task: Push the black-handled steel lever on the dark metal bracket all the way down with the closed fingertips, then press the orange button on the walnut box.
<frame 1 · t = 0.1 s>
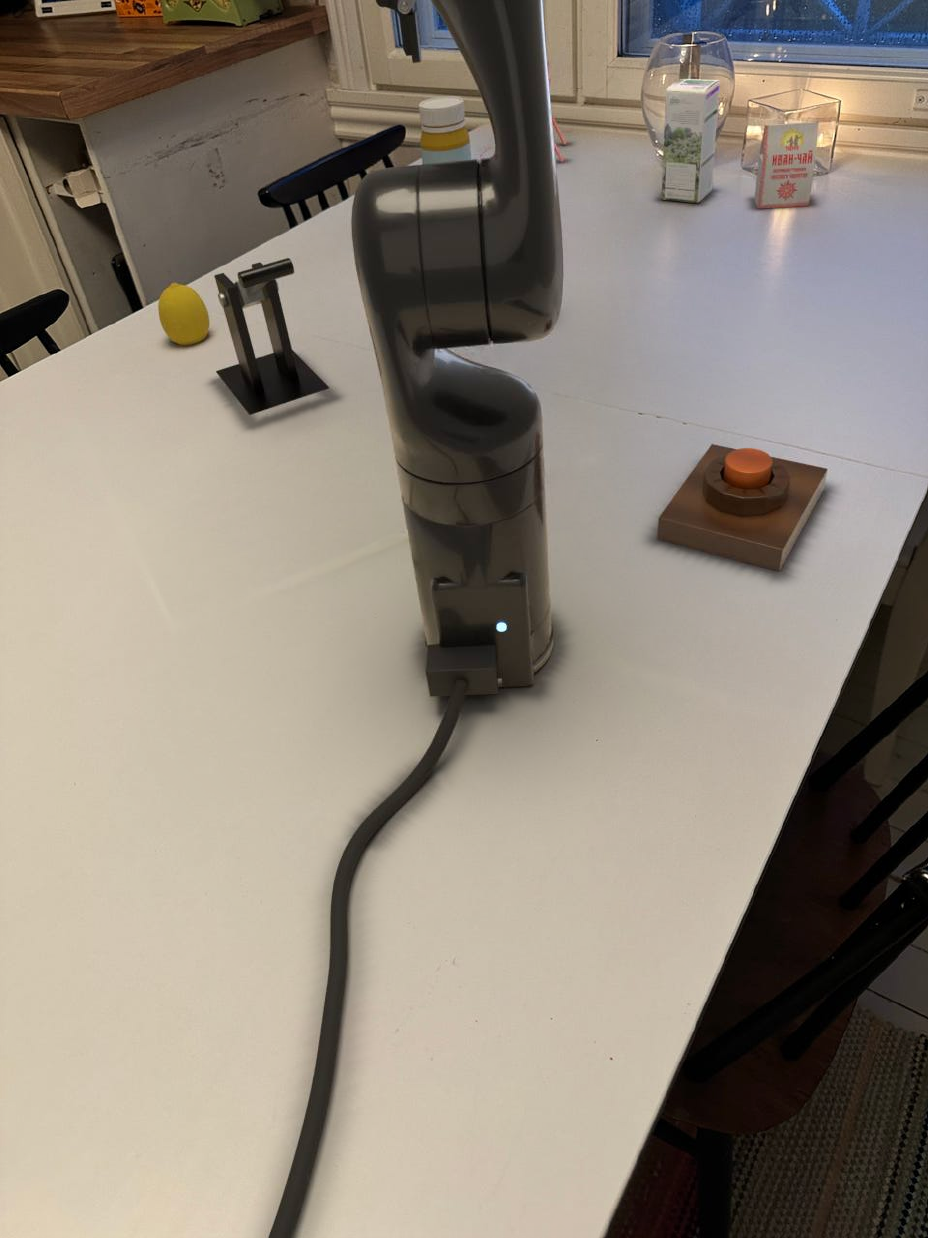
hand: (465, 55, 82), 29 cm above the table, tool pointing down, fingers open, 8 cm apart
figurine: (523, 156, 155), on the table
button box: (741, 514, 77), on the table
syrup box: (686, 197, 134), on the table
tea box: (780, 203, 128), on the table
bracket: (273, 389, 102), on the table
bottle: (452, 215, 137), on the table
lemon: (194, 349, 112), on the table
lever: (256, 283, 90), point 13 cm above the table, hinge at 28.0°
button: (747, 469, 74), point 4 cm above the table, slide at 0.1 cm
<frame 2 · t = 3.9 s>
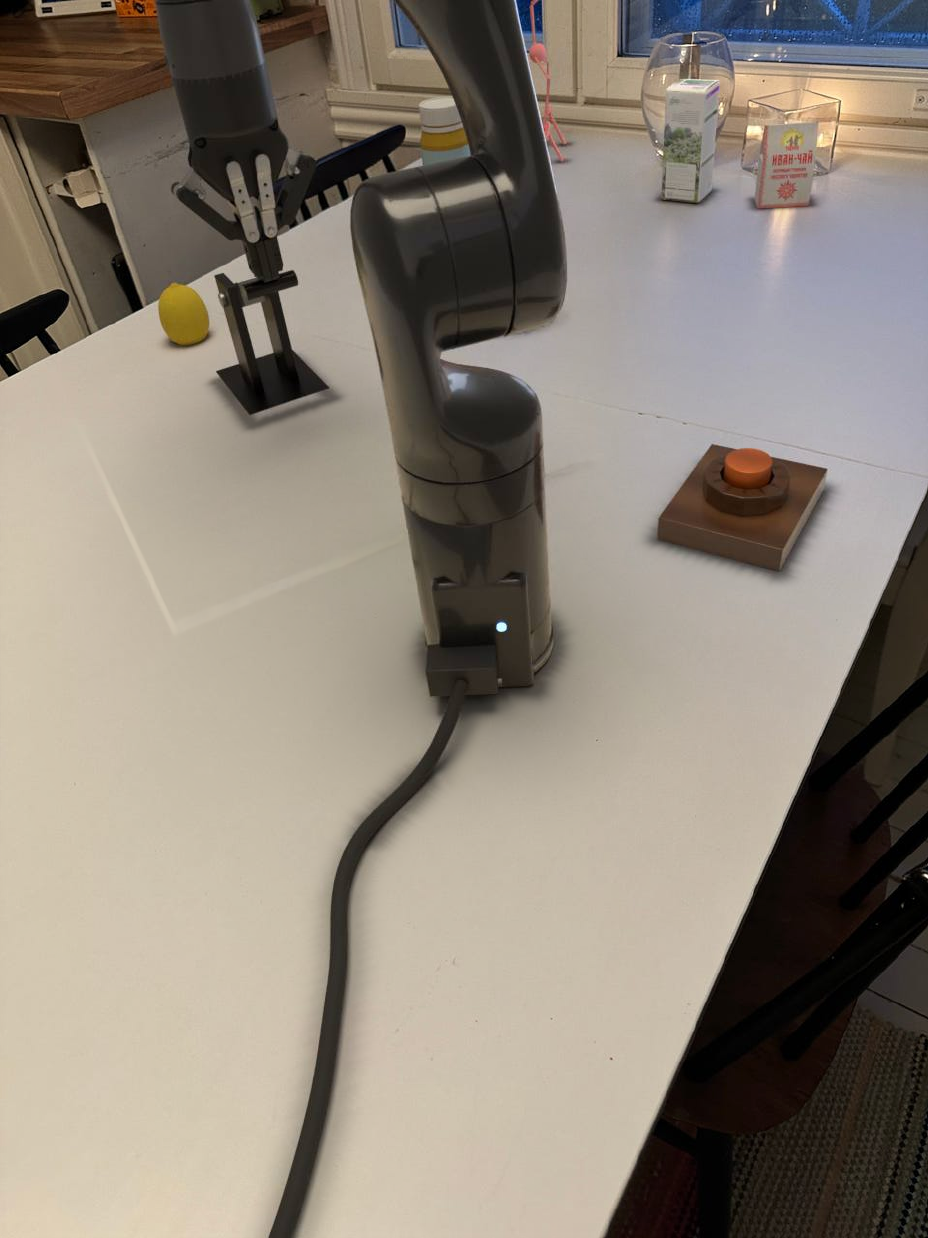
hand: (269, 277, 85), 15 cm above the table, tool pointing down, fingers closed
lever: (258, 289, 90), point 13 cm above the table, hinge at 21.8°
everything else where it was.
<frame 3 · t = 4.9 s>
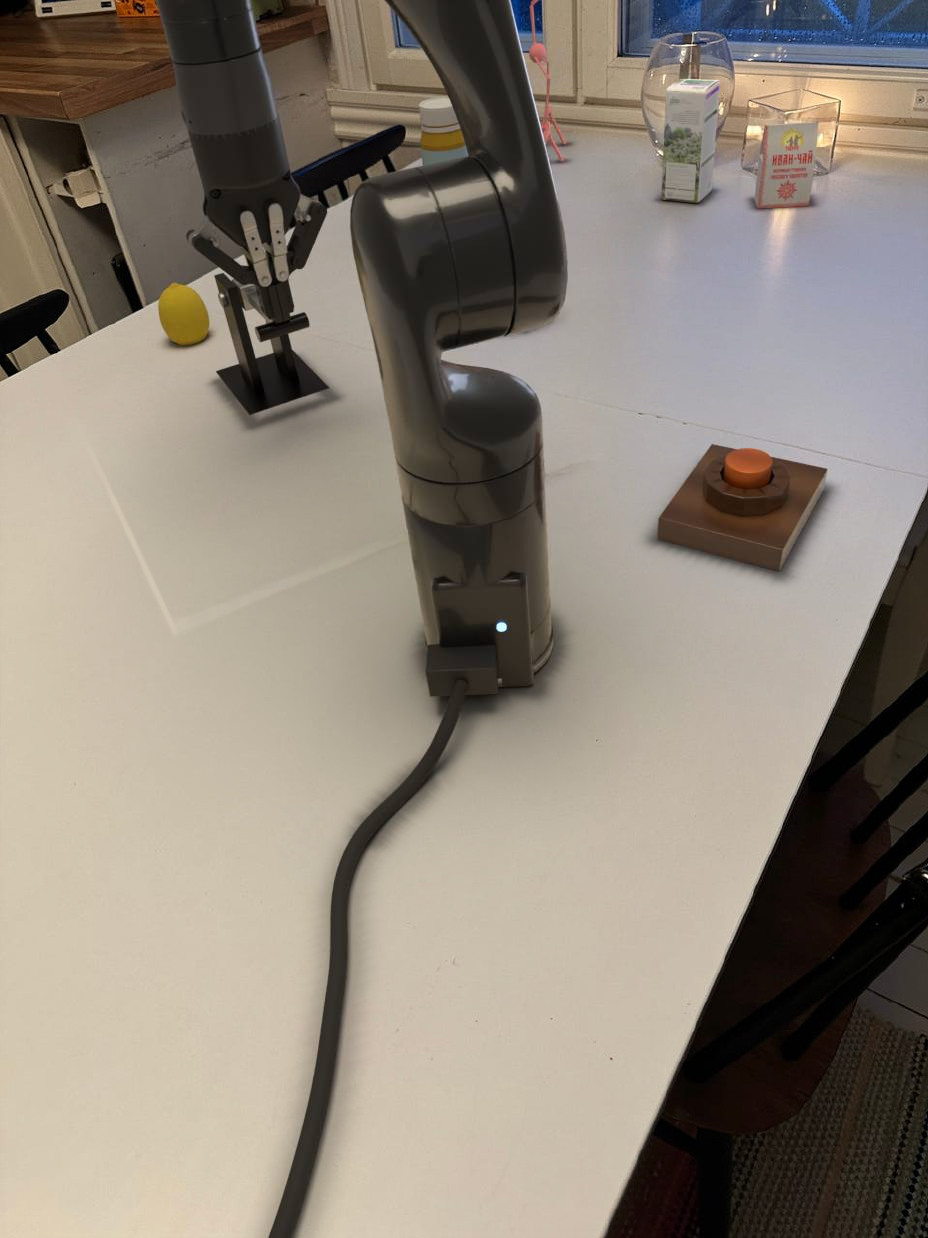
hand: (280, 318, 87), 12 cm above the table, tool pointing down, fingers closed
lever: (263, 307, 91), point 11 cm above the table, hinge at -0.8°, touching gripper
everything else where it was.
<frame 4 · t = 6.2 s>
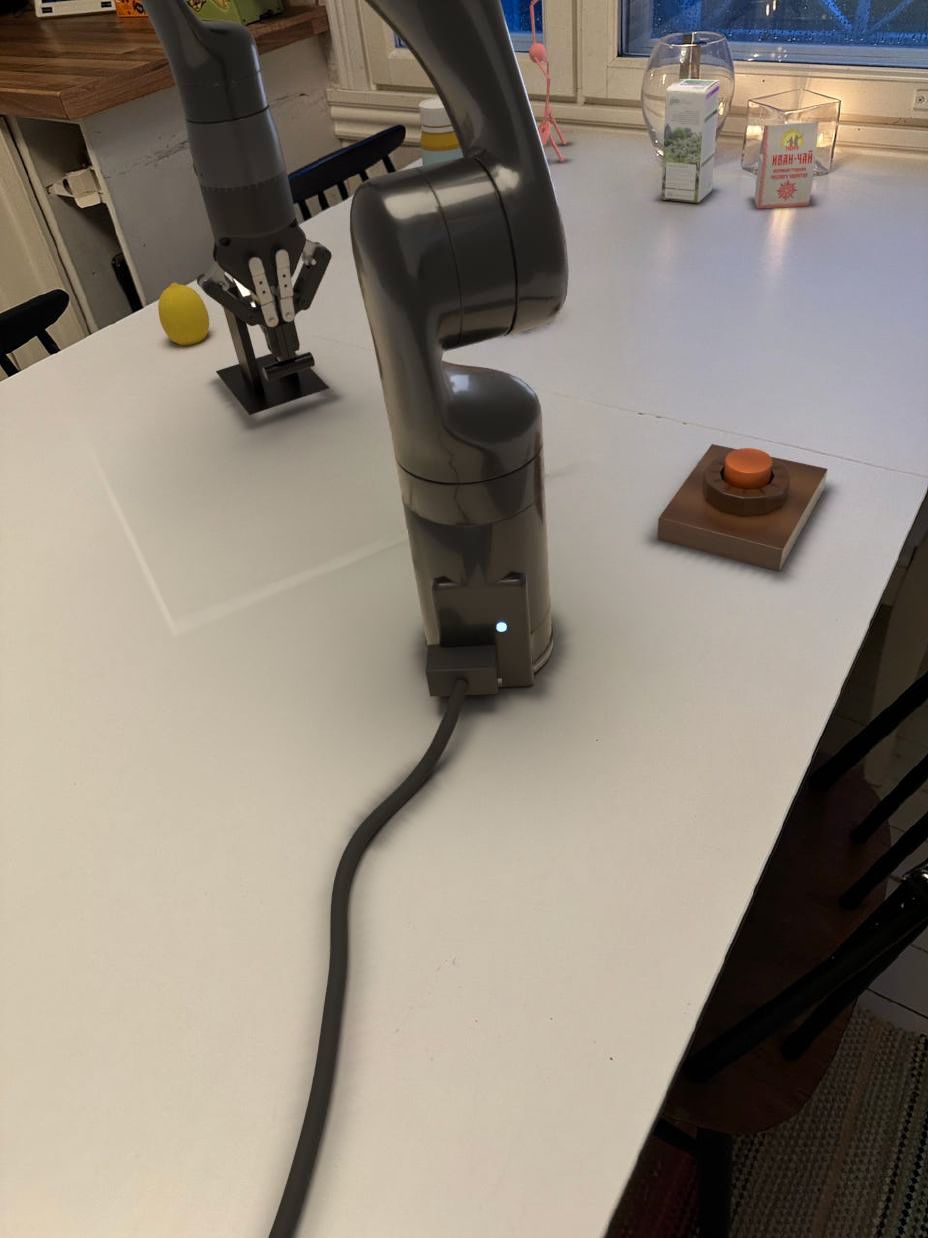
hand: (286, 356, 91), 7 cm above the table, tool pointing down, fingers closed
lever: (267, 326, 93), point 9 cm above the table, hinge at -27.6°, touching gripper
everything else where it was.
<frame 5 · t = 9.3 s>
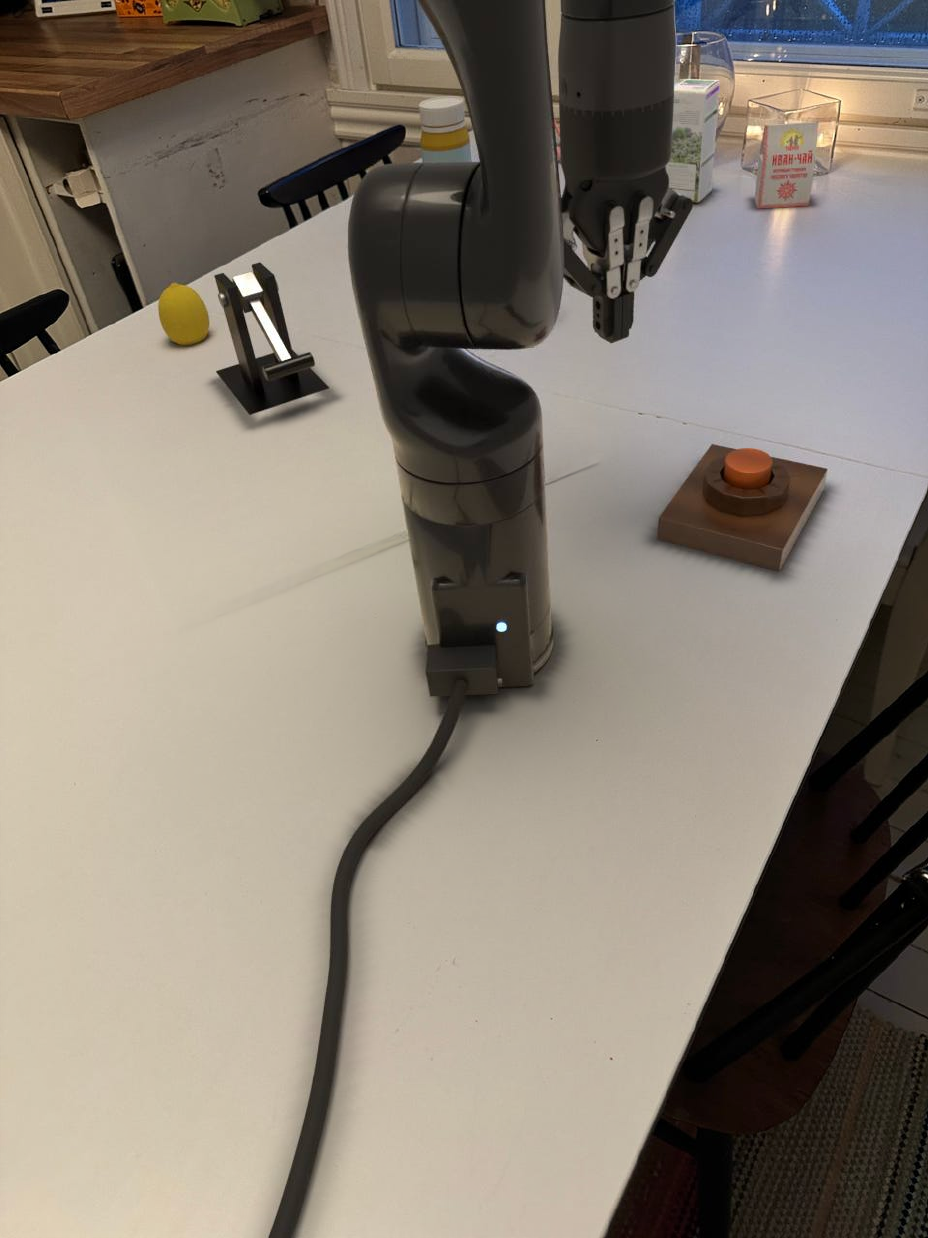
hand: (613, 336, 72), 14 cm above the table, tool pointing down, fingers closed
lever: (267, 326, 93), point 9 cm above the table, hinge at -27.7°
everything else where it was.
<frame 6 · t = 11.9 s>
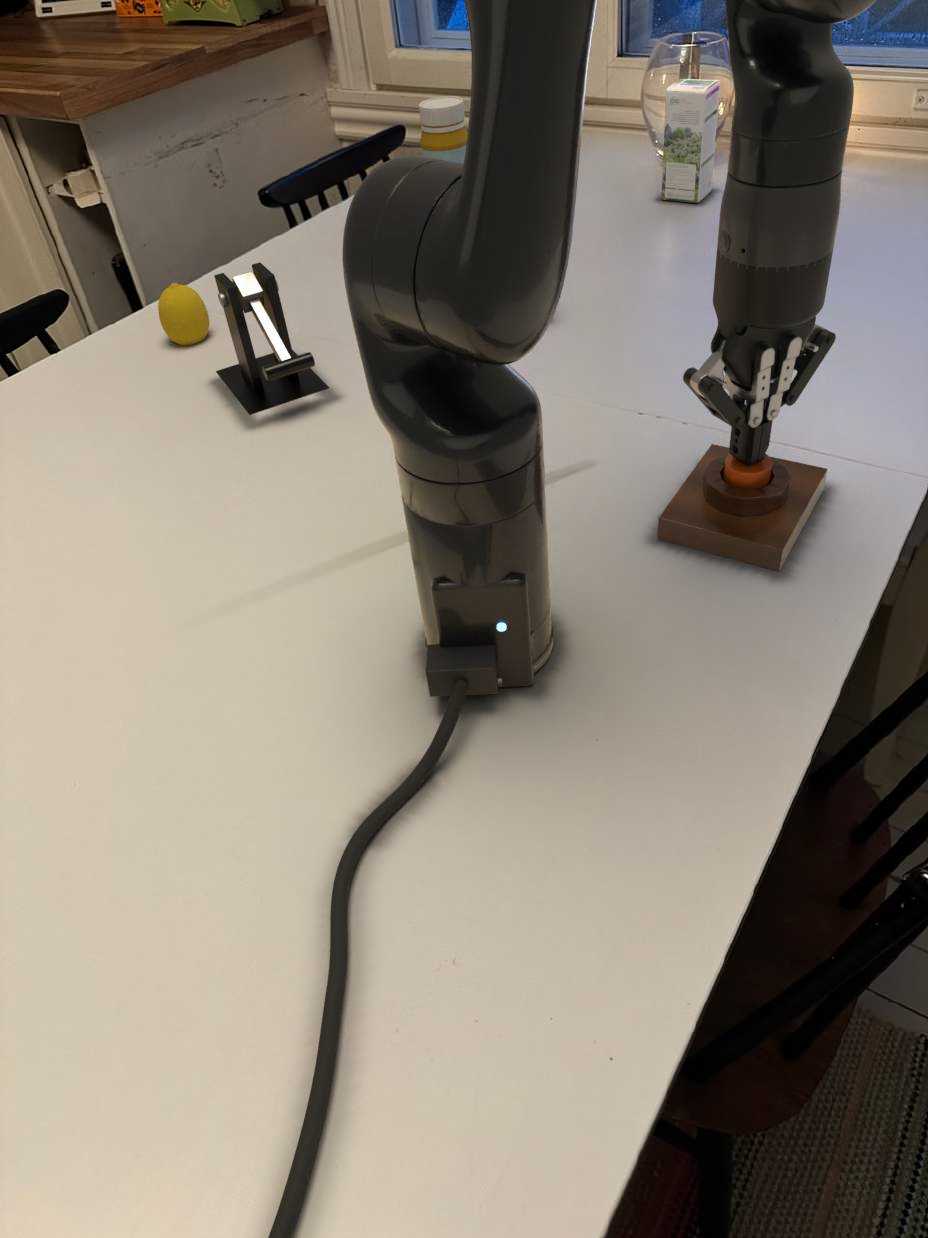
hand: (747, 458, 74), 5 cm above the table, tool pointing down, fingers closed
button: (747, 470, 74), point 4 cm above the table, slide at 0.0 cm, touching gripper
everything else where it was.
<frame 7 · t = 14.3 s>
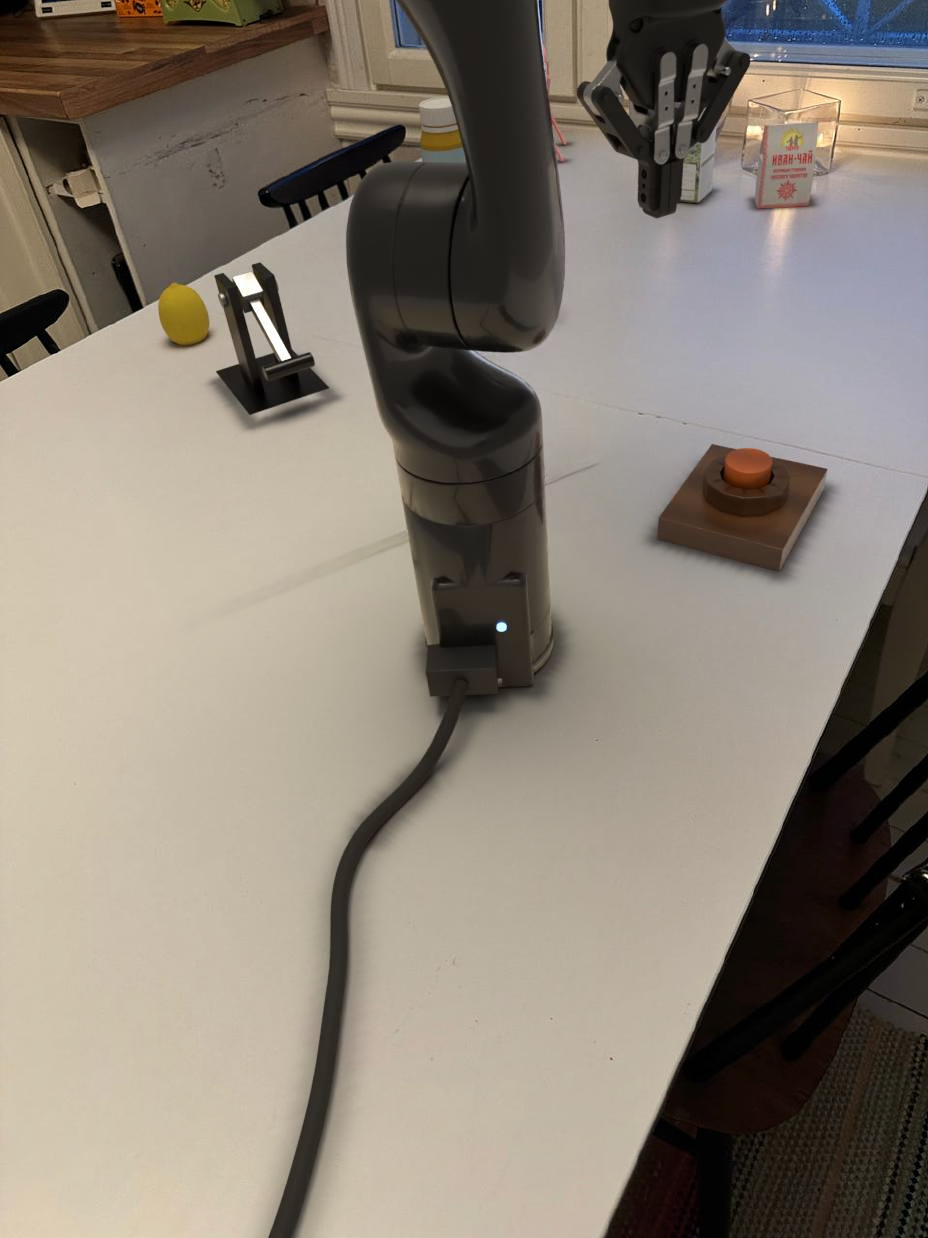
hand: (659, 212, 67), 23 cm above the table, tool pointing down, fingers closed
button: (747, 469, 74), point 4 cm above the table, slide at 0.1 cm
everything else where it was.
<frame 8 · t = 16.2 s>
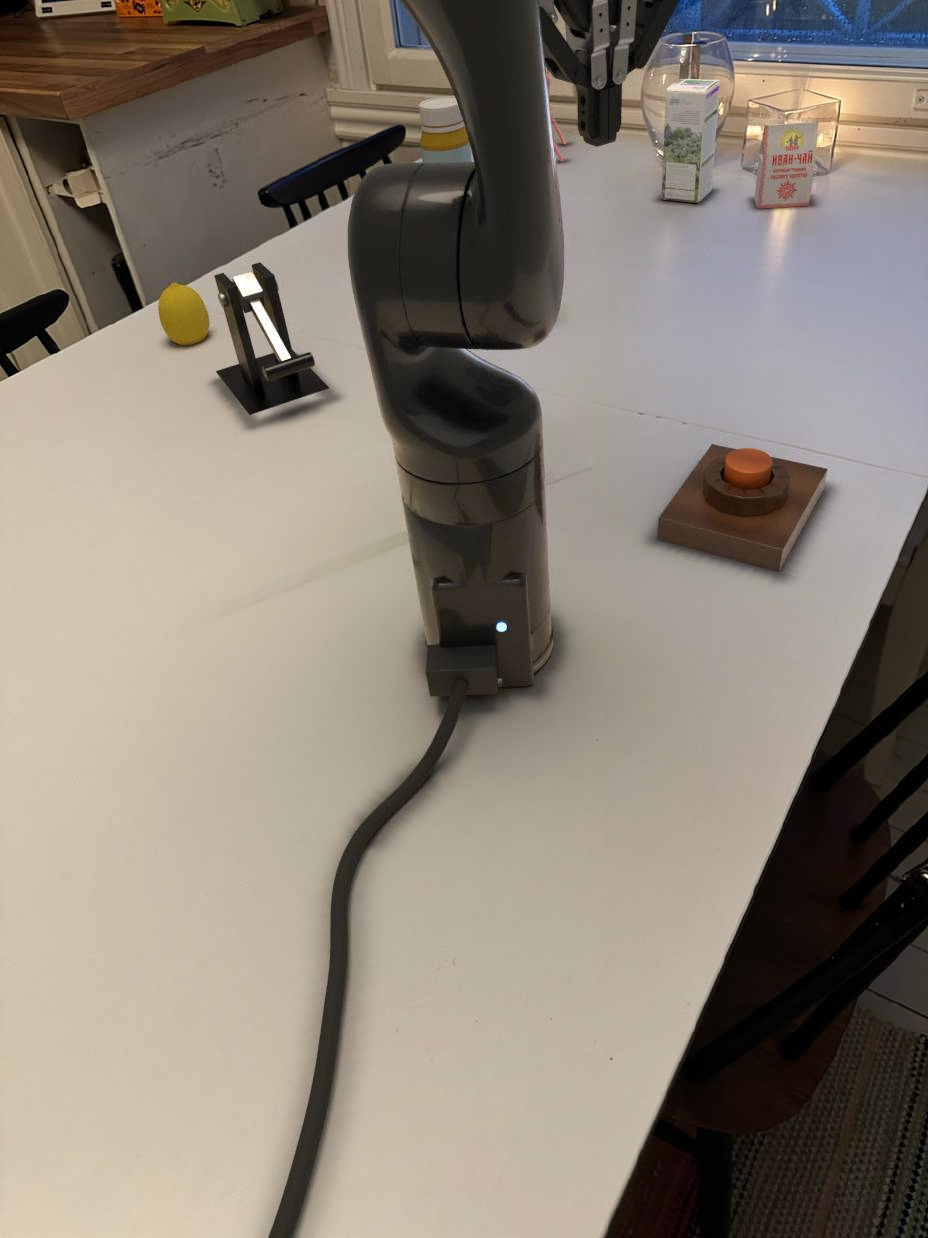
hand: (599, 141, 67), 27 cm above the table, tool pointing down, fingers closed
nothing on the table moved.
at the end: lever at -28° (first picture: +28°); button pushed in 1.1 cm at the most during the clip, back to where it started at the end; button slide at 0.1 cm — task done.
